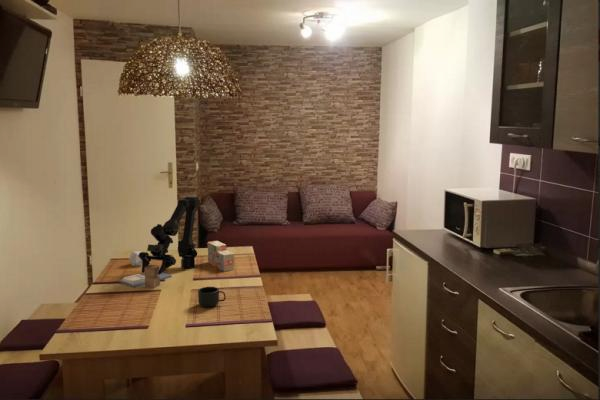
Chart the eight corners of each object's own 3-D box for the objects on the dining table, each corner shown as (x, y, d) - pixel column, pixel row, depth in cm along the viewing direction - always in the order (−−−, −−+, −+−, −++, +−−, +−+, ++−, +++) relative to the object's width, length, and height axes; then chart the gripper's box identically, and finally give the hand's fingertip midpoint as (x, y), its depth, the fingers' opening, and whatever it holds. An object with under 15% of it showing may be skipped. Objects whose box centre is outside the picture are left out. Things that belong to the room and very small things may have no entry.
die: (138, 269, 279) (147, 254, 282) (124, 261, 278) (133, 246, 281) (140, 270, 287) (149, 255, 289) (126, 263, 286) (135, 248, 289)
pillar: (151, 284, 253) (150, 264, 251) (160, 285, 251) (159, 265, 249) (145, 287, 248) (144, 267, 246) (154, 288, 246) (153, 268, 245)
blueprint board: (155, 271, 273) (155, 267, 272) (171, 276, 264) (171, 272, 263) (118, 281, 256) (118, 277, 255) (134, 287, 247) (134, 282, 247)
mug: (196, 309, 220) (196, 293, 219) (200, 301, 229) (199, 286, 228) (224, 308, 220) (224, 293, 219) (227, 301, 229) (226, 286, 228)
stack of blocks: (234, 270, 277) (233, 248, 275) (223, 271, 273) (223, 249, 271) (217, 260, 294) (217, 240, 292) (207, 262, 291) (207, 241, 289)
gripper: (139, 236, 252) (126, 263, 244) (172, 239, 247) (159, 267, 238) (149, 247, 261) (137, 274, 252) (181, 250, 255) (169, 278, 247)
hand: (150, 273), depth 247 cm, fingers open, 9 cm apart
